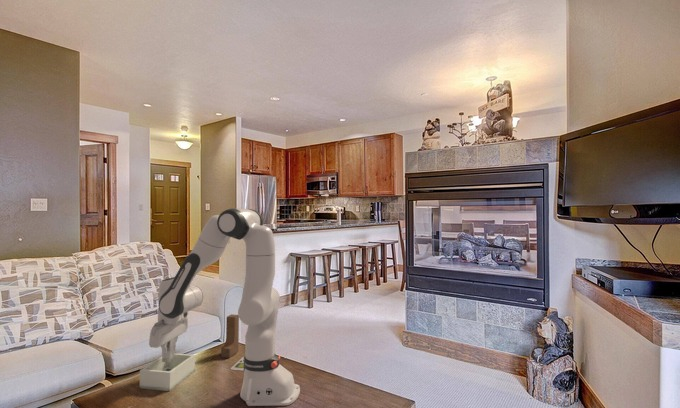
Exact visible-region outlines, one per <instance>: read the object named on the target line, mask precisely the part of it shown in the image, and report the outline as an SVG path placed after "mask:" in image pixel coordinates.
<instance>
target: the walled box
mask: <svg viewBox="0 0 680 408" xmlns="http://www.w3.org/2000/svg"><path fill="white" fill-rule="evenodd" d="M195 372H196V354H189V353H188V354H187V353H186V354H185V353H175V359H174V360H173V361H171V362H162V356H161V357H159V358H158V359H156V360H154V361H152V362H151V363H149V364H148V365H146V366H144V367H142V368H140V370H139V389H145V390H153V391H155V390H156V391H164V392H171V390H173V389H174V388H175V387H177V386H178V385H179V384H181V383H182V382H183V381H185V380H186V379H187V378H189V376H191V375H192V374H194V373H195Z"/></svg>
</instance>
